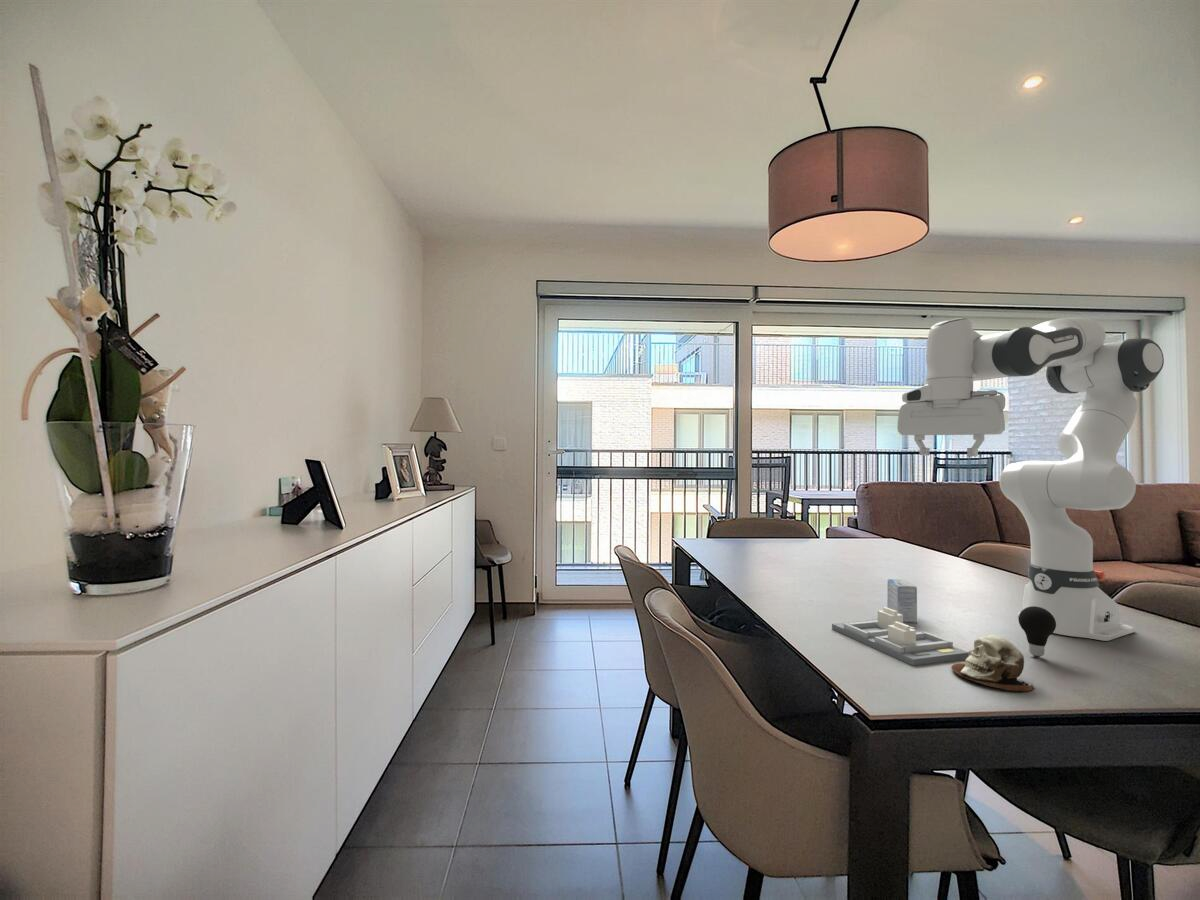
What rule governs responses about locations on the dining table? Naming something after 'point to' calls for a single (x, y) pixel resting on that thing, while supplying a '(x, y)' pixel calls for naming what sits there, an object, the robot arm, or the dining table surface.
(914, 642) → the tab
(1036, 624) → the light bulb
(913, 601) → the medicine box
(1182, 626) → the dining table surface
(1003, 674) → the skull
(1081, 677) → the dining table surface
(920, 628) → the dining table surface
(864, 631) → the switch board
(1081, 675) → the dining table surface
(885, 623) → the tab
